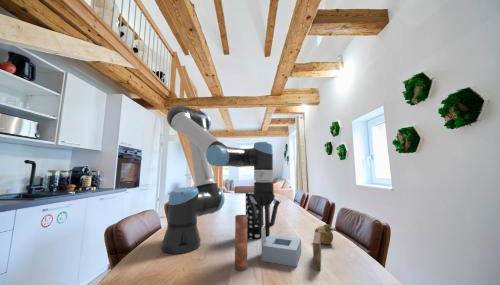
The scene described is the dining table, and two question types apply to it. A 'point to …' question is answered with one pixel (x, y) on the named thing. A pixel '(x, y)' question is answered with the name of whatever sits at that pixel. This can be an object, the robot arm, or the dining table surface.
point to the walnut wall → (317, 251)
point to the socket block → (282, 250)
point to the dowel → (241, 242)
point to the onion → (326, 233)
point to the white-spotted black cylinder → (251, 220)
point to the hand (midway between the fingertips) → (264, 245)
